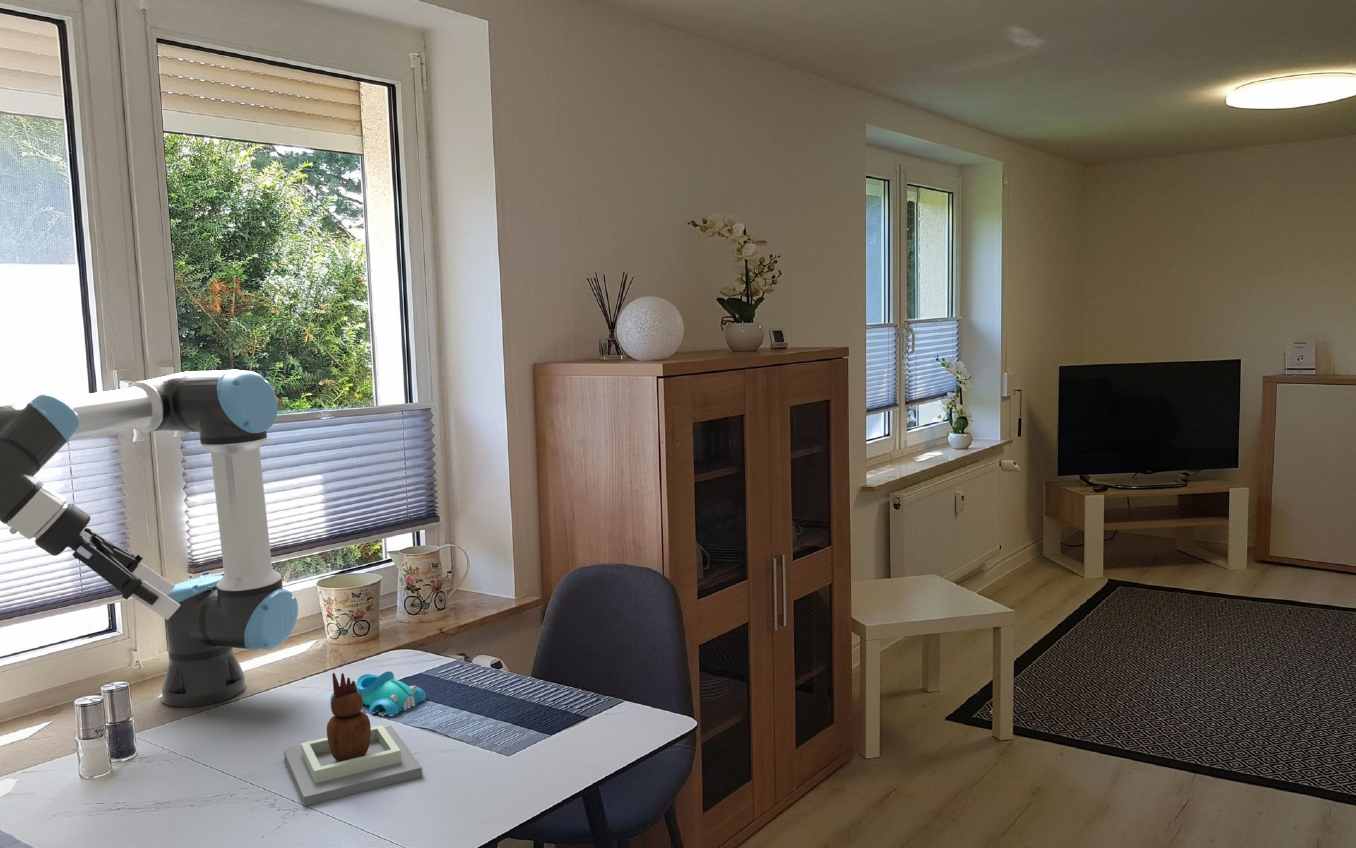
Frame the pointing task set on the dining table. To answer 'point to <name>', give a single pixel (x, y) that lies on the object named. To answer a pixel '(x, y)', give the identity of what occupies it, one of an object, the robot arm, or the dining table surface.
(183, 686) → the robot arm
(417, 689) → the toy car
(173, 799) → the dining table surface
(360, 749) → the wooden figurine
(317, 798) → the jig plate
